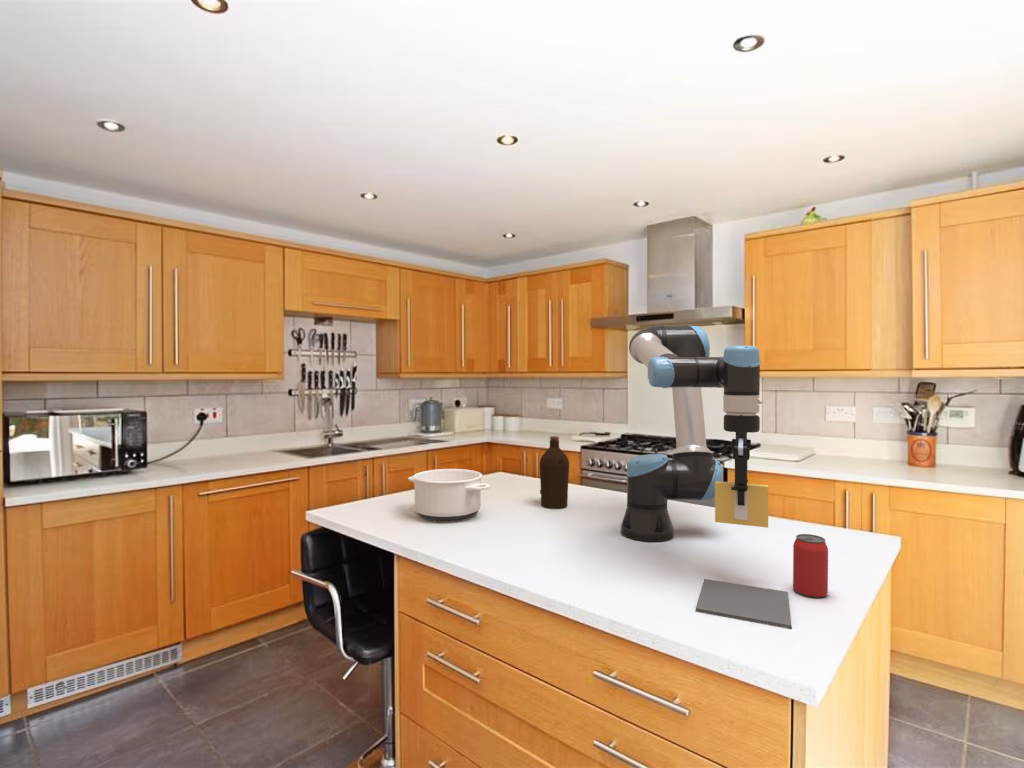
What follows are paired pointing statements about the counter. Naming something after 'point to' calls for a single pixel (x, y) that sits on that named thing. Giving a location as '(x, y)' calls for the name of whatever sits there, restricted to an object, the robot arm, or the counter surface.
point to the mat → (745, 603)
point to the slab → (755, 504)
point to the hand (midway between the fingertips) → (741, 517)
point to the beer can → (810, 565)
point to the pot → (448, 494)
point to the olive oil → (554, 476)
